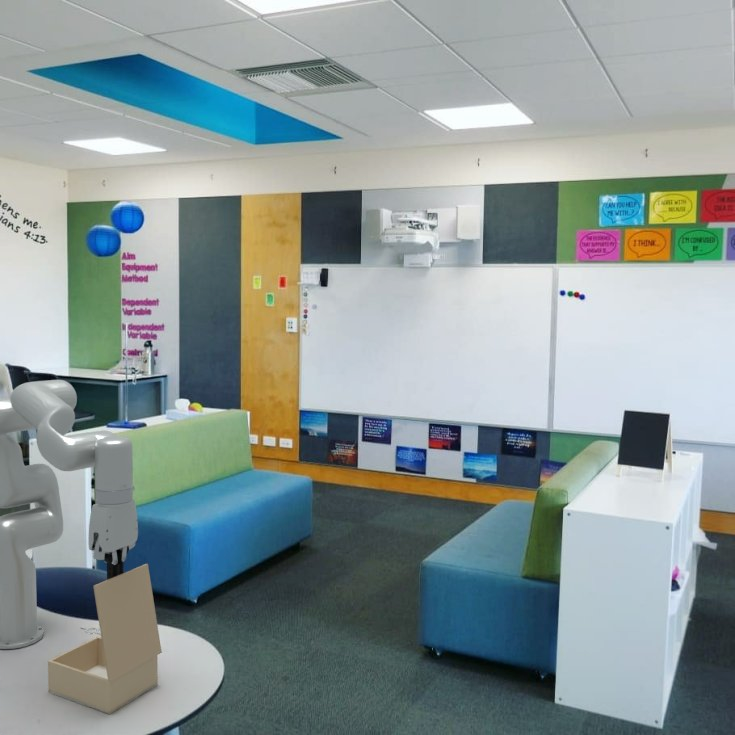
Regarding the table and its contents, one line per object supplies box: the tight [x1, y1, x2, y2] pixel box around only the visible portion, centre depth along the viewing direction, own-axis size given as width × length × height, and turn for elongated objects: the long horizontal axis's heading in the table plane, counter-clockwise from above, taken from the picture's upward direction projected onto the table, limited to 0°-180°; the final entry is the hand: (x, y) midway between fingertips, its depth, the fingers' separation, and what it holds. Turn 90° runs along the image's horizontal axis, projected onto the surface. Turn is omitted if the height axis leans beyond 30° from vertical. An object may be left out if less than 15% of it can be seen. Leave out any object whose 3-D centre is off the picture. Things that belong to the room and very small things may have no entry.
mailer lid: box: [93, 563, 163, 682], centre depth 165 cm, size 20×15×1 cm
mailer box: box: [47, 635, 159, 715], centre depth 170 cm, size 18×14×7 cm
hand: (115, 580), depth 166 cm, fingers closed
